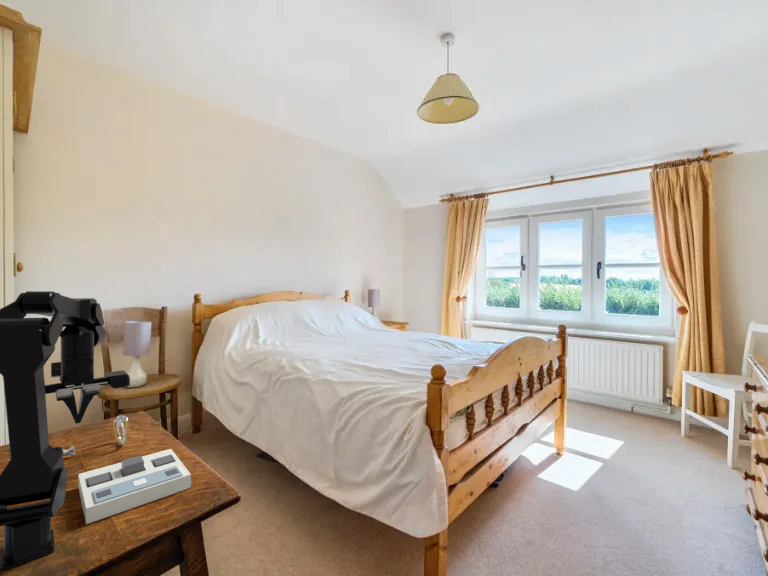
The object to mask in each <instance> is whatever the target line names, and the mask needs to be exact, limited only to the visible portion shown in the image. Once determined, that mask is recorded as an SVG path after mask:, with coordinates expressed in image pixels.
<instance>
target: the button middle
mask: <svg viewBox="0 0 768 576" xmlns="http://www.w3.org/2000/svg"><path fill="white" fill-rule="evenodd" d="M142 457H143V456H142V455H141V454H140V455H137V456H134V457H129V458H126V459H122V460H121V462H122V475H123V477H125V476H128V475H132V474H135V473H139V472H142V471H144V461H143V459H142Z"/></svg>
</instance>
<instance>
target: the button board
mask: <svg viewBox="0 0 768 576" xmlns="http://www.w3.org/2000/svg"><path fill="white" fill-rule="evenodd" d="M167 455H170V456H171V457H172V459H173V460H174V462H172V463H169V464H166V465H162V466H159V467H154V466H153V459H157V458H160V457H164V456H167ZM141 457H142V459H143V461H144V471H142V472H139V473H135V474H132V475H128V476H125V477H123V475H122V461H121V462H118V463H117V462H116V463H114V464H110V465H107V466H102V467H100V468H96V469H91V470H89V471H84V472H81V473H78V477H77V478H78V479H77V480H78V484H77V487H78V493H79V496H80V497H79V498H80V502H81V507H82V511H83V516H84V521H85V525H88V524H91V523H96V522H98V521H100V520H102V519H105V518H108V517H111V516H114V515H117V514H119V513H123V512H125V511H129V510H131V509H134V508H136V507H139V506H142V505H143V506H144V505H145V504H149V503H151V502H154V501H156V500H157V501H158V500H160V499H162V498H165V497H168V496H171V495H175V494H177V493H181V492H183V491H186V490H189V489H191V488H192V474H191V473H190V471H189V469H187V468H186V466H185V465H184V463H183V462H182V461H181V459H179V457H178V456H177V454H176V453H175V451H174V450H173V449H172V448H169V449H165V450H162V451H157V452H155V453H150V454H146V455H144V456H141ZM104 473H109V476H110V478H111V481H108V482H105V483H102V484H98V485H95V486H91V487H88V488H87V478H90V477H93V476H97V475H101V474H104ZM190 487H191V488H190ZM188 488H189V489H188Z"/></svg>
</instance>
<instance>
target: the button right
mask: <svg viewBox="0 0 768 576" xmlns="http://www.w3.org/2000/svg"><path fill="white" fill-rule="evenodd" d="M172 462H174V460H173V459H172V457H171V456H170V455H167V456H164V457H160V458H157V459H153V466H154V467H159V466H162V465H166V464H169V463H172Z"/></svg>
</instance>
